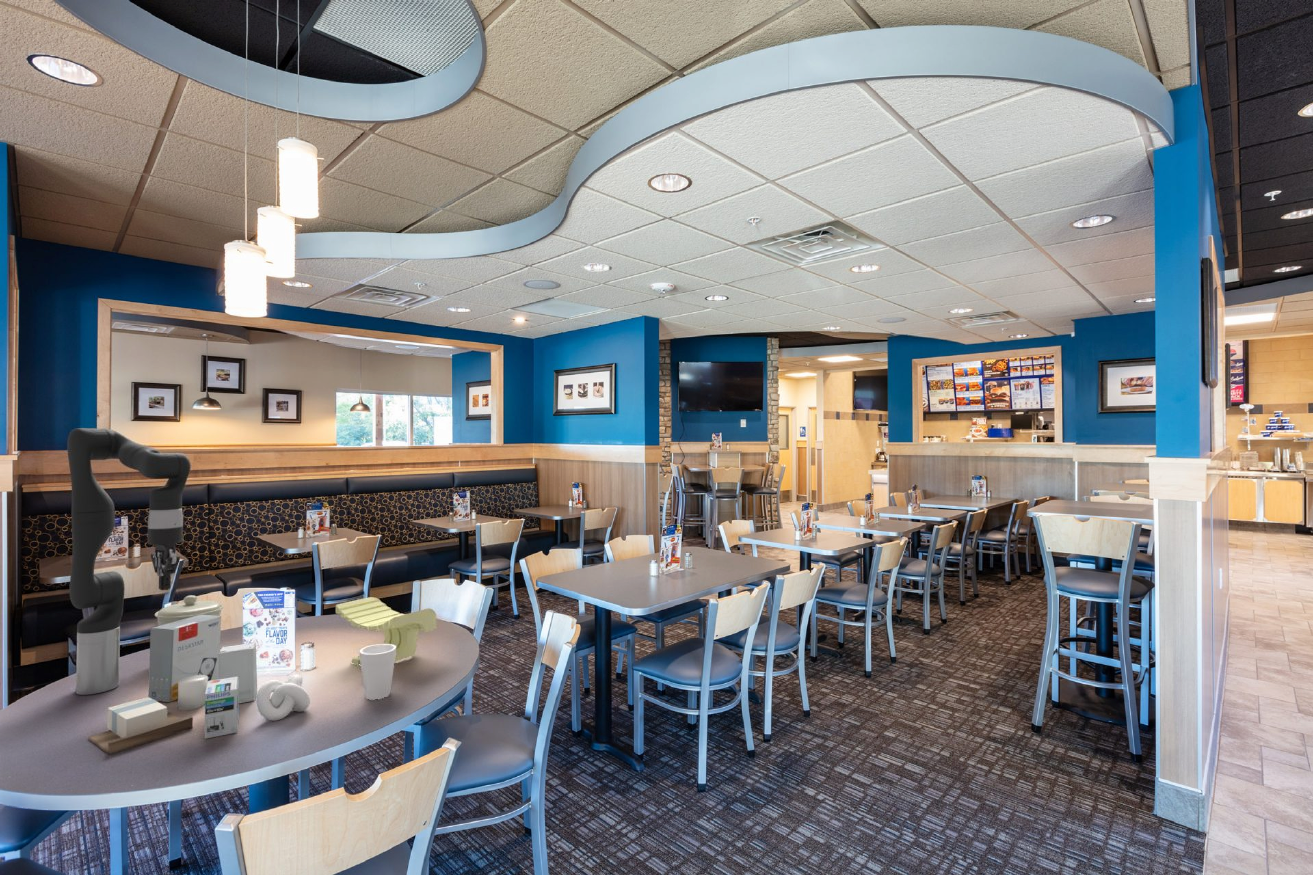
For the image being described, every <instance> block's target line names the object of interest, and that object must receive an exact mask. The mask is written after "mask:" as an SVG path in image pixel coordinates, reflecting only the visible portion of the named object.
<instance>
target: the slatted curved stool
mask: <svg viewBox="0 0 1313 875" xmlns="http://www.w3.org/2000/svg"><path fill="white" fill-rule="evenodd" d="M335 614H338V615H340V618H342V619H345V623H346V622H347V623H350V626H351V627H355V628H359V629H363V630H369V631H371V632H381V631H383V633H384V641H383V643H382V644H392V645H395V646H396V657H395V662H396V661H398V660H401V659H403V658H407V657H409V656H412V655H414V656H415V655H416V650H417V646H418V645H417V643H418V636H419V633H420V631H422V632H423V633H428V632H432V631H435V630H437V614H436V611H435V610H434V609H432V608H429V607H428V608H425V609H421V610H416V611H413V612H410V613H406V614H404V613H400V612H398V611H396V610H393V609H392V608H391V607H389V606H387V604H386V603H384V602H382V601H381V600H380V598H377V597H373V596H370V597H365V598H360V599H357V600H352V601H351V600H350V601H346V602H343V603H338V604H335ZM351 662H352V663H354V664H356V665H355V666H357V665H358V666H360V665H361V662H360V660H359V655H358V656H355V657H352V660H351ZM354 664H353V665H354ZM359 664H360V665H359Z"/></svg>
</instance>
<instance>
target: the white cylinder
mask: <svg viewBox="0 0 1313 875" xmlns="http://www.w3.org/2000/svg"><path fill="white" fill-rule="evenodd" d="M207 683H208V676H206V675H195V676H190V677H186V678H183V679H181V680H179V681H178V699H177V710H178V711H179V710H180V711H191V710H195V709H199V708H202V707H205V692H206V687H207Z"/></svg>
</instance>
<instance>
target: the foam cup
mask: <svg viewBox="0 0 1313 875" xmlns="http://www.w3.org/2000/svg"><path fill="white" fill-rule="evenodd" d="M358 656H359V660H360V662H361V666H360V668H361V675H362V676H361V677H362V684H363V690H364V696H365V697H364V698H365V699H366V700H368V699H369V701H376V700H375V699H378V700H382V698H383V699H385V698H384V697H386V698H387V697H389V696H390V694H391V690H392V689H391V688H392V682H393V676H394V675H393V674H394V668H395V665H394V662H395V657H396V646H395V645H392V644H383V643H379V644H378V643H377V644H371V645H367V646H365V647H362V648H360V650H359V655H358ZM388 695H389V696H388Z"/></svg>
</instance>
